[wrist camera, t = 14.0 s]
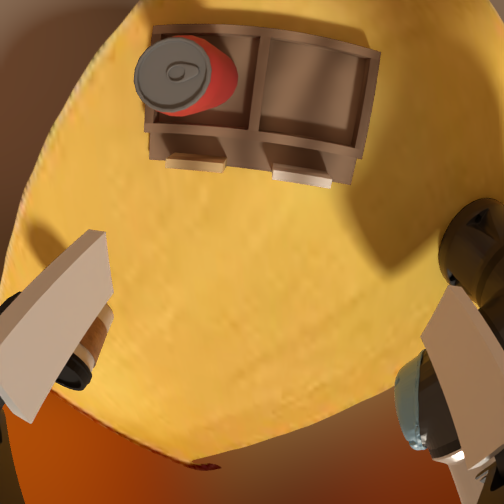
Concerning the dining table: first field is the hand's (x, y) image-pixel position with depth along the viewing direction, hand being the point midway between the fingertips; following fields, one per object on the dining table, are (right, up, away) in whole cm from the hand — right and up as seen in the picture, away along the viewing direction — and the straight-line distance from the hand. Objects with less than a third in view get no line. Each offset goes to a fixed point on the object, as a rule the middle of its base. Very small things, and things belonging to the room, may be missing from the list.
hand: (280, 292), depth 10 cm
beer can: (-6, +19, +17) cm, 26 cm away
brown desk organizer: (0, +18, +19) cm, 25 cm away
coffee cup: (-27, -9, +36) cm, 46 cm away
